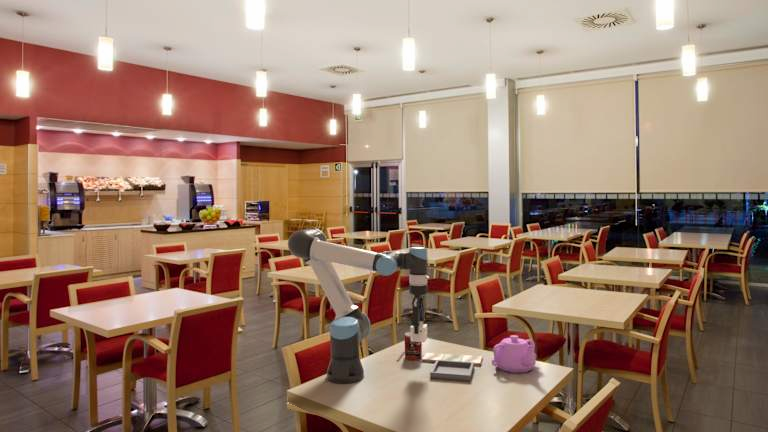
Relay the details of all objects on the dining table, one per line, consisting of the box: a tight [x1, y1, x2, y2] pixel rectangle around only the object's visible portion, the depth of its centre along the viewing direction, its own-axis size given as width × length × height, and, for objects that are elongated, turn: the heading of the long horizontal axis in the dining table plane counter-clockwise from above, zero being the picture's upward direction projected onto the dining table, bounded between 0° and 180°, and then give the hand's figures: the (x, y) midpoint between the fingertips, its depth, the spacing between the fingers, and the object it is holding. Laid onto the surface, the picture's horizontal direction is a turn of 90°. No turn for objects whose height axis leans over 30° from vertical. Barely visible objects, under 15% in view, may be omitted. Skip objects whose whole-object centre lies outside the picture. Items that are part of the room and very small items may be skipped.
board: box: [396, 351, 483, 367], centre depth 230 cm, size 37×13×1 cm, turn 75°
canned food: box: [404, 331, 423, 361], centre depth 233 cm, size 8×8×11 cm
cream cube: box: [409, 323, 428, 343], centre depth 216 cm, size 6×6×6 cm
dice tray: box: [429, 360, 475, 382], centre depth 213 cm, size 16×16×2 cm
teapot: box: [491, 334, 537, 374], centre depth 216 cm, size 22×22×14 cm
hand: (418, 338), depth 216 cm, fingers closed on cream cube, 6 cm apart
